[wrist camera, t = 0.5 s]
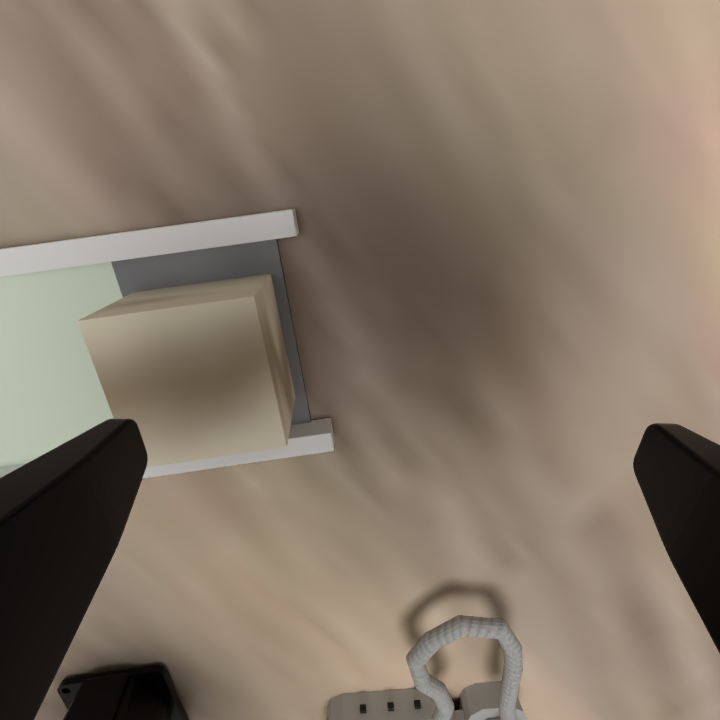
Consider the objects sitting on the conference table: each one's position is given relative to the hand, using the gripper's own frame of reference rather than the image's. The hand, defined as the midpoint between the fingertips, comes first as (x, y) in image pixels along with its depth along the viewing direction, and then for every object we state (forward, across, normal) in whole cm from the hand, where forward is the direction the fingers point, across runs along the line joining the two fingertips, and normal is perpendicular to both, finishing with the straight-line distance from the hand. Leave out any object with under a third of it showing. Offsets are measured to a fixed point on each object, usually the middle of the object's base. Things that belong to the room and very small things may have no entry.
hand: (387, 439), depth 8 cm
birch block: (+11, +7, +4) cm, 14 cm away
